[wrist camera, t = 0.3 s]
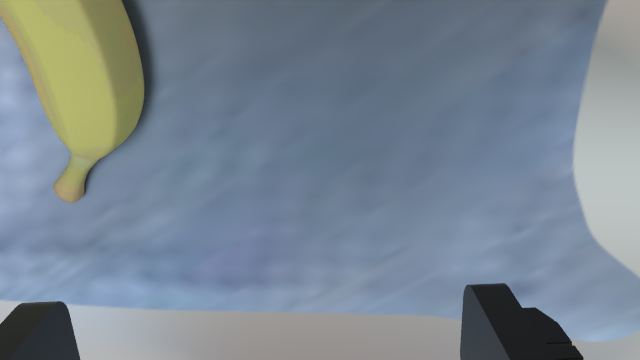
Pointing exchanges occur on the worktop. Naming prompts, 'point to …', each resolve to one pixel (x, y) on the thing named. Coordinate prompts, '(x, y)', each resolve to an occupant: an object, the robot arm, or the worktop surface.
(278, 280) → the worktop surface
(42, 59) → the banana
